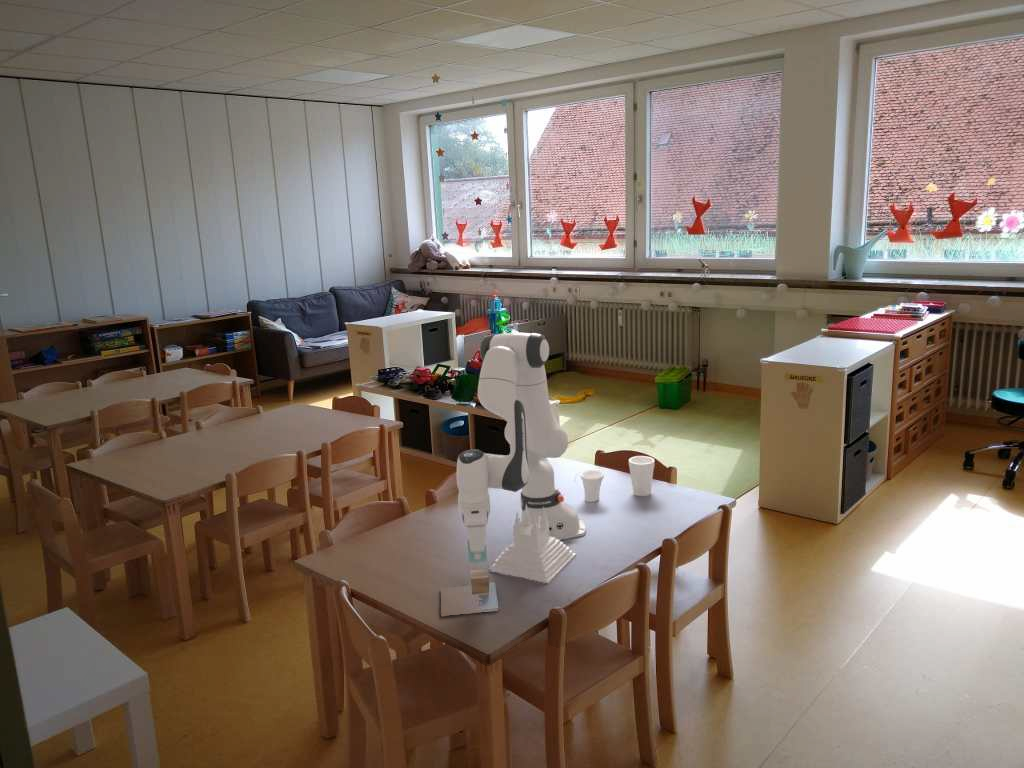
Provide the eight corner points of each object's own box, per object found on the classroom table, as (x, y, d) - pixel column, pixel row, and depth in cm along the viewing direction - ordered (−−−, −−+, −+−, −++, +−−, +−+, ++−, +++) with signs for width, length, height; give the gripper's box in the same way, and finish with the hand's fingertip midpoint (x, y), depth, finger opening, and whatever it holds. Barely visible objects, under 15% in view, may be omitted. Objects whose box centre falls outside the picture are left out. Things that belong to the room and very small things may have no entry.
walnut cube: (471, 586, 225) (470, 570, 224) (488, 584, 225) (487, 569, 224) (472, 594, 220) (470, 578, 219) (489, 593, 221) (488, 577, 219)
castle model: (576, 556, 243) (574, 501, 239) (547, 584, 226) (545, 526, 222) (520, 545, 253) (517, 493, 249) (489, 572, 236) (485, 516, 232)
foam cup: (656, 497, 286) (656, 463, 283) (631, 498, 286) (630, 465, 283) (652, 487, 295) (651, 455, 292) (627, 488, 295) (627, 456, 292)
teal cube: (468, 555, 223) (467, 539, 221) (485, 553, 223) (484, 537, 222) (469, 563, 218) (468, 546, 216) (486, 561, 218) (485, 545, 217)
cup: (590, 505, 281) (589, 480, 279) (576, 498, 289) (575, 472, 287) (610, 500, 285) (609, 474, 283) (595, 492, 293) (594, 467, 291)
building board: (494, 585, 227) (494, 581, 227) (498, 611, 213) (498, 607, 212) (440, 590, 226) (440, 586, 226) (440, 617, 211) (440, 613, 211)
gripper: (461, 495, 227) (464, 538, 230) (464, 523, 207) (467, 570, 210) (483, 493, 227) (485, 537, 230) (487, 521, 207) (490, 568, 210)
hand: (477, 553), depth 220 cm, fingers closed on teal cube, 5 cm apart
